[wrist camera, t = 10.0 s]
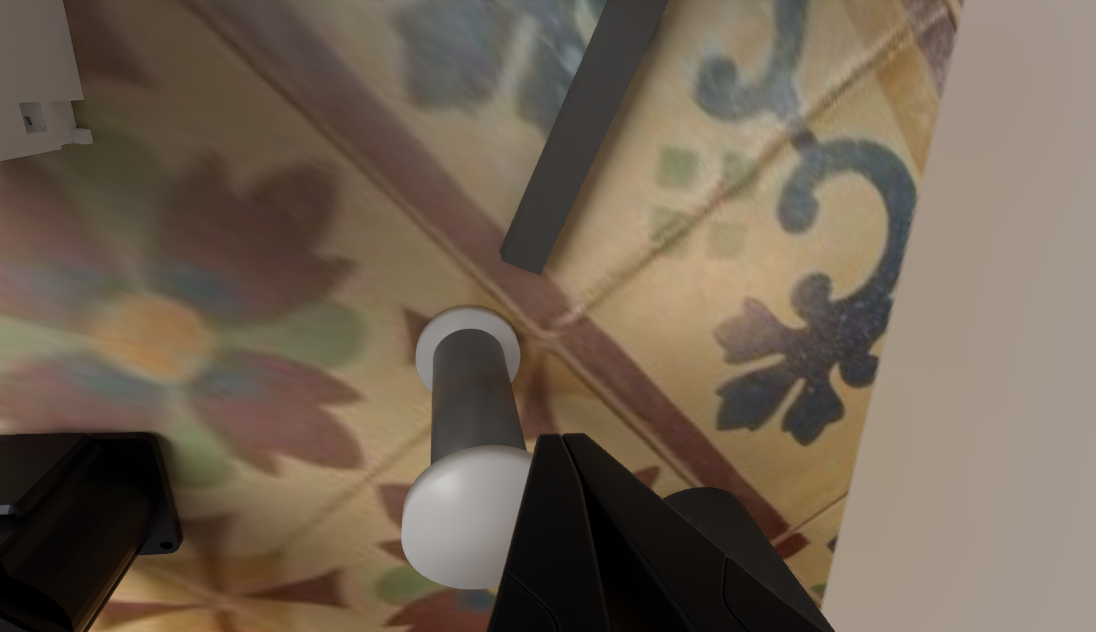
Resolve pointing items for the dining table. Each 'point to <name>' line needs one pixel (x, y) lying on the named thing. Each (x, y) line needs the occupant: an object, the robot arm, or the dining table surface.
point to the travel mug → (744, 544)
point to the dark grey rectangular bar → (580, 129)
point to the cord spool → (467, 451)
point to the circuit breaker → (37, 79)
